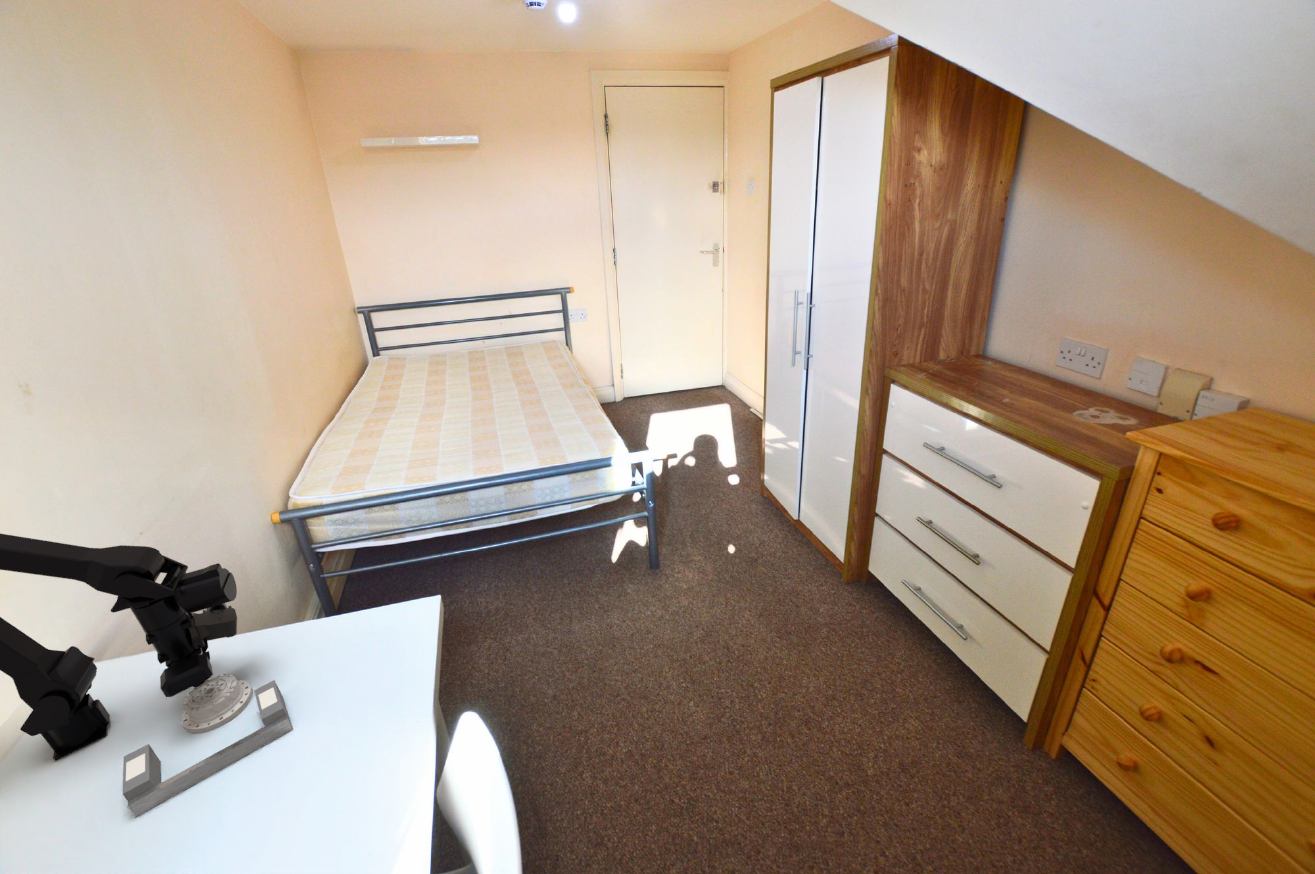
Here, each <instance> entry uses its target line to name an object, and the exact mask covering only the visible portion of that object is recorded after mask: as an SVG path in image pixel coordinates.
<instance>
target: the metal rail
mask: <svg viewBox="0 0 1315 874" xmlns="http://www.w3.org/2000/svg"><path fill="white" fill-rule="evenodd" d="M290 721H291V720H290ZM290 721H289V719H288V717H287V715H285V716H283V717H281V718H279V719H277V720H276V721H274V722H272V723H270V724H268V725H266V726H265V725H264V726H263V727H261V728H259V729H258V730H256V731H254V732H252V733H250V734H248V735H246V736H244V737H242V738H241V739H239V740H237V741H235V742H234V743H231V744H230V745H228V746H226V747H225V748H222V749H220V750H219V751H217V752H215V753H213V754H211V755H210V756H208V757H205V758H204V759H203V760H201V761H198V762H197V763H195V764H193V765H191V766H190V767H188V768H186V769H184V770H182V771H180V772H178V773H176V774H175V775H173V776H171V777H169V778H167V779H165V780H163V781H161V783H160V784H158V785H156V786H154V787H152V788H151V789H149V790H147V791H145V792H143V793H141V794H140V795H138V796H136V797H134V798H132V799H130V800H129V801H127V808H128V809H129V810H130V811H131V813H132V814H133V816H134V817H135V818H137V817H139V816H141V815H143V814H145V813H146V812H148V811H150V810H151V809H153V808H155V807H157V806H159V805H160V804H163V803H165V802H166V801H168V800H169V799H171V798H173V797H174V796H176V795H177V796H178V794H180V793H183V792H184V791H186V790H187V789H189V788H191V787H193V786H194V785H197V784H198V783H200V782H201V781H203V780H205V779H207V778H209V777H211V776H212V775H214V774H216V773H218V772H220V771H221V770H223V769H225V768H226V767H228V766H230V765H232V764H234V763H236V762H237V761H240V759H243V758H245V757H247V756H248V755H249V754H251V753H254V752H255V751H257V750H259V749H261V748H262V747H265V746H266V745H268V744H269V743H272V742H273V741H275V740H277V739H278V738H280V737H281V736H282V737H283V736H284V735H285V734H287V733H289V732H290V731H293V730H294V729H293V725H292V722H291V723H290Z"/></svg>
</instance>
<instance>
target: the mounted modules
mask: <svg viewBox="0 0 1315 874" xmlns="http://www.w3.org/2000/svg"><path fill="white" fill-rule="evenodd" d="M253 693H254V694H255V695H254V696H255V699H256V703H257V707H258V711H259V715H260V719H261V721H262V723H263V725H264V727H265V726H266V725H268V724H270V723H272V722H274V721H276V720H277V719H279V718H281V717H283V716H285V715H287V717H288V719H289V721H290V723H291V724H292V721H291V719H290V716H289V712H288V709H287V706H286V702H285V699H284V696H283V694H282V692H281V690H280V688H279V686H278V684H277V683H276V680H275V679H273V680H272V681H269V682H268V683H266V684H264V685H261V686H260V687H258V688H256V689H254V690H253ZM122 762H123V768H122V795H123V797H124V799H126V801H127V802H128V801H129V800H130V799H132V798H134V797H136V796H138V795H140V794H141V793H143V792H145V791H147V790H149V789H151V788H152V787H154V786H156V785H158V784H160V783H162V768H161V767H162V765H161V760H160V759H159V757H158V755H157V754H156V752H155V751H154V749H153V748H152V747H151V745H150V744H149V743H147V744H145V745H144V746H142V747H140V748H138V749H135V750H133V751H132V752H129V753H128V754H126V755H124V756H123V761H122Z"/></svg>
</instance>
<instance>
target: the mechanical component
mask: <svg viewBox="0 0 1315 874" xmlns="http://www.w3.org/2000/svg"><path fill="white" fill-rule="evenodd" d="M253 696H254V690H253V688H252V687H251V685H250V683H249V682H247V681H246V680H243V679H239V680H238V679H237V678H236V677H235V676H234V675H232V673H231V674H226V673H224V674H223V675H222V674H219V675H216V677H214V678H213V677H212V678H211V679H210V678H209V679H207V680H206V681H205V683H203V684H202V685H200V686H198V687H193V690H192V691H191V690H190V691H189V692H188V695H186V696H185V700H184V702H183V705H182V706H183V708H184V712H183V713H182V715H181V720H180V721H181V725H182V727H183V728H184V729H185V731H186V732H188V733H190V734H196V735H197V734H204V733H208V732H211V731H214V730H217V729H218V728H221V727H222V726H225V725H227V724H228V723H230V722H232V720H234V719H235V718H237V717H239V716H240V715H241V713H243V711H244V710H246V708H247V707H248V705H250V703H251V701H252V699H253Z"/></svg>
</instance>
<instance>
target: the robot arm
mask: <svg viewBox="0 0 1315 874" xmlns="http://www.w3.org/2000/svg"><path fill="white" fill-rule="evenodd" d="M188 569H189V566H188V565H186V564H185V563H182V562H179V561H177V560H174V559H172V558H170V557H168V556H165V555H163V554H162V553H161V552H160V550H158V549H157V548H155V547H152V546H143V545H142V546H141V545H123V544H121V545H114V546H108V547H88V546H82V545H75V544H69V543H64V542H63V543H62V542H57V541H50V540H43V539H38V538H30V537H23V536H19V535H18V536H17V535H13V534H6V533H5V534H4V533H0V571H8V572H16V573H20V574H21V573H22V574H29V575H38V576H46V577H51V578H59V579H67V580H73V581H78V582H81V583H84V584H87V586H89V587H91V588H93V589H94V590H95V591H97V592H100V593H105V594H108V595H113V596H116V598H117V599H116V601H115V603H114V604H113V605H112V607H111V609H110V612H111V613H117V612H121V611H124V610H125V611H126V610H128V609H130V611H131V612H132V614H133V615H134V618H136V620H137V622H138V624H139V625H140V627H141V628H142V630H143V632H144V634H145V641H146V643H147V645H148V646H150V645H152V647H153V648H154V650H155V652H156V655H157V661H158V662H159V664H160V665H161V664H163V663H165V666H166V667H167V668H165V669H163V671H162V672H161V674H160V676H159V679H160V680H159V681H160V682H159V683H160V690H161V691H162V693H163V695H164V696H165V698H172V697H174V696H176V695H178V694H180V693H182V692H184V691H187V690H188V689H190V688H192V687H193V688H195V687H198V686H200V685H202V684H203V683H205V681H206V680H208V679H209V680H210V678H212V676H213V675H214V673H213V666H212V664H211V654H210V650H208V648H209V644H208V643H209V642H208V641H213V640H217V639H222V638H228V639H229V638H233V637H235V636H236V635H237V633H238V631H237V630H238V628H237V627H238V615H237V610H236V609H235V608H233V607H232V605H228V606H227V603H229V602H233V601H235V599H236V598H237V595H238V594H237V593H238V592H237V591H238V590H237V589H238V588H237V583H236V580H235V577H234V574H233V573H232V572H230V571H229V569H228V568H226V567H224V568H223V567H222V566H221V564H220V563H215V564H211V565H209V566H207V567H206V566H205V567H204V568H200V569H197V570H193V571H189V572H187V571H188ZM160 574H165V576H164V578H163V580H162V581H161V583H159V582H156V581H157V580H158V578H159V576H160ZM200 611H202V613H197V612H200ZM207 650H208V651H207ZM94 662H95V658H94V657H92V656H88V655H86V654H85V653H83V652H82V651H81V649H79V648H78V646H77V647H76V646H74V645H72V646H70V647H68V648H67V649H65V650H58V649H56V650H55V649H50V648H49V649H48V648H47V647H45V646H44V645H42V644H41V643H40V642H38V641H36V640H35V639H34V638H32V637H31V636H29V635H28V634H26V633H24V632H23V631H22V630H20V629H18V628H17V627H16V626H14V625H13V624H11V623H10V622H9V621H7V620H5V619H4V618H3V617H1V616H0V671H1V672H2V673H3V674H6V675H7V676H9V678H11V679H12V680H13V684H14V686H15V688H16V690H17V693H18V696H19V698H20V700H21V701H23V702H24V703H25V704H26V705H27V706H28V707H30V709H32V710H31V712H30V714H29V715H28V716H27V718H25V719H26V720H25V721H24V722H23V724H22V725H21V727H20V728H19V730H20V731H22V732H23V733H25V734H27V735H29V736H31V737H34V736H38V735H41V737H42V738H43V739H44V740H45V741H46V742H47V744H48V745H49V747H50V748H51V749H52V750H53V754H52V755H53V756H52V759H53V760H54V761H58V760H60V759H62V758H65V757H66V756H69V755H71V754H73V753H76V752H77V751H79V750H81V749H83V748H86V747H87V746H89V745H91V744H93V743H94V744H95V742H99V741H100V740H102V739H104V738H106V737H107V735H108V727H109V725H110V717H111V714H109V712H108V710H107V709H106V707H105V706H104V705H103V704H102V702H101V701H100V699H99V698H98V699H94V698H93V697H92V696H91V694H90V693H88V692H89V690H90V689H91V688H92V686H93V681H94V679H95V678H96V677H97V672H98V671H97V670H98V667H97V665H96V664H95V663H94Z"/></svg>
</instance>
